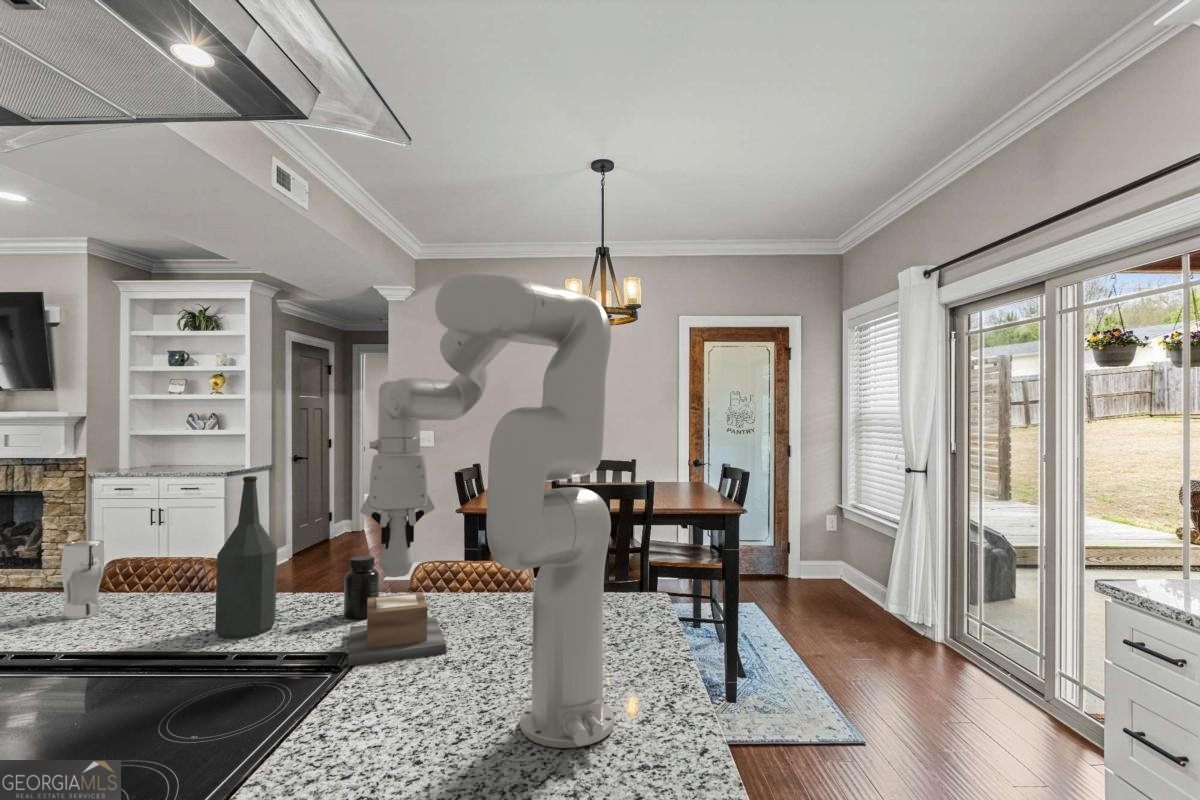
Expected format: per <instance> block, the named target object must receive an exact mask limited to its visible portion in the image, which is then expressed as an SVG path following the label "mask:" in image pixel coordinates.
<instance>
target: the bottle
mask: <svg viewBox="0 0 1200 800" xmlns="http://www.w3.org/2000/svg"><path fill="white" fill-rule="evenodd" d="M242 480H243V486H242V494H241V498H240V499H241V500H240V508H239V515H238V521H237V525H236V527H235V528H234V529H233V531H232V532H231V534H230V536H229V537H228V538H227V540H226V541H225V543H224V545H222V547H221V548H220V550H219V552H218V553H217V555H216V557H217V560H216V562H217V563H216V586H215V587H216V591H215V617H214V618H215V620H214V621H215V623H214V626H215V627H214V632H215V634H216V635H217V636H218V637H220V638H223V639H233V640H234V639H235V640H237V639H244V638H250V637H254V636H259V635H262V634H264V633H267V632H269V631H271V630H272V628H274V627H273V626H274V625H275V622H276V614H277V613H276V611H277V610H276V608H277V607H276V606H277V575H278V574H277V571H278V570H277V569H278V566H277V565H278V562H277V561H278V547H277V546H276V544H275V543H274V541H273V540H272V538H271V537H270V535H269V534H268V532H267V531H266V529H265V528H264V527H263V525H262V524H261V523H260V522H261V521H260V513H259V502H258V489H257V480H258V477H257V476H253V475H249V476H244V477H243V478H242Z"/></svg>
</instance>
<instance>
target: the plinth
mask: <svg viewBox="0 0 1200 800" xmlns="http://www.w3.org/2000/svg"><path fill="white" fill-rule="evenodd" d="M348 639H349V640H348V650H347V651H348V654H347V666H348V665H349V666H350V667H351V666H356V665H363V664H364V665H365V664H372V663H380V662H381V663H382V662H388V661H396V660H402V659H410V658H412V659H413V658H417V657H426V656H434V655H441V654H446V653H447V643H446V641H445V640H446V639H445V637H444V635H443V632H442V630H441V627H440V624H439V621H438V619H437V617H428V605H427V601H426V599H425V596H424V593H423V592H416V593H415V592H414V593H406V594H405V593H404V594H395V595H392V594H391V595H383V596H382V595H381V596H379V597H370V598H368V601H367V619H366V624H365V625H354V626H349V637H348ZM349 666H348V667H349Z"/></svg>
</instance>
